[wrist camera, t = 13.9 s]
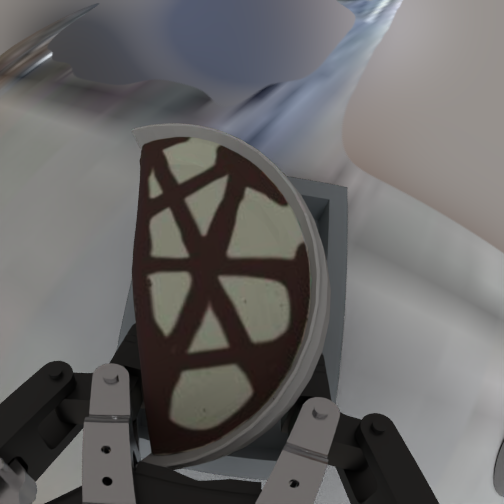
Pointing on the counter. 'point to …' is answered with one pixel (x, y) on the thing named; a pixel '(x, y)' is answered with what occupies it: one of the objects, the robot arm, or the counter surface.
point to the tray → (335, 247)
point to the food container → (221, 293)
